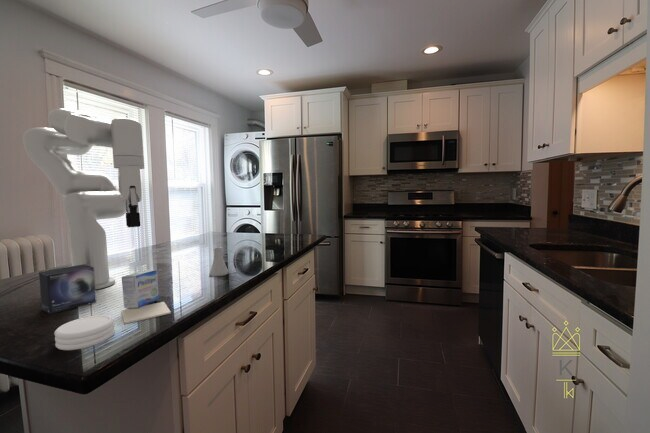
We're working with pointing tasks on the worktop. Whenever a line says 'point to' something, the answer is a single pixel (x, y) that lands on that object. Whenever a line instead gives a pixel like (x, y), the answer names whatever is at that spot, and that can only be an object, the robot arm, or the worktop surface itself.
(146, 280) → the medicine box
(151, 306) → the mat
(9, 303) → the worktop surface
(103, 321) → the coaster
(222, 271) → the flask
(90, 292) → the small box
